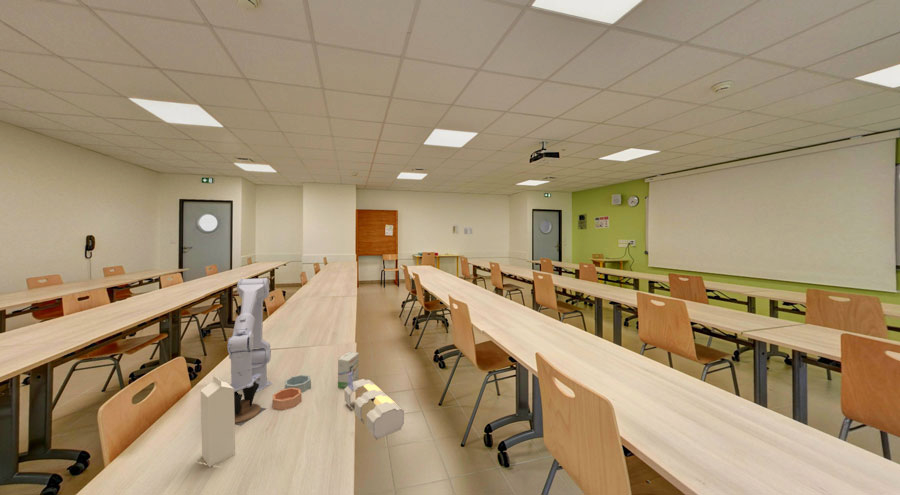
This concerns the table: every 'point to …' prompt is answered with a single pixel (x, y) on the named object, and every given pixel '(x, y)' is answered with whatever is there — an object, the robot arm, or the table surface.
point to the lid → (246, 411)
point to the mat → (248, 420)
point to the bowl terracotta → (286, 398)
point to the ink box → (348, 368)
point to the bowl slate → (299, 382)
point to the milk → (217, 421)
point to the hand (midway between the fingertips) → (242, 409)
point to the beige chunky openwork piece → (385, 413)
